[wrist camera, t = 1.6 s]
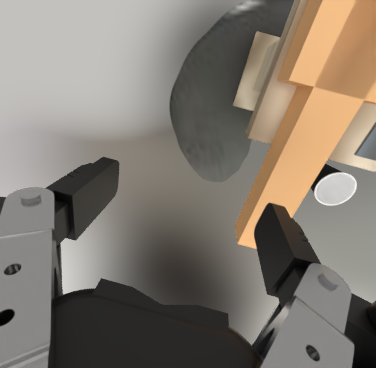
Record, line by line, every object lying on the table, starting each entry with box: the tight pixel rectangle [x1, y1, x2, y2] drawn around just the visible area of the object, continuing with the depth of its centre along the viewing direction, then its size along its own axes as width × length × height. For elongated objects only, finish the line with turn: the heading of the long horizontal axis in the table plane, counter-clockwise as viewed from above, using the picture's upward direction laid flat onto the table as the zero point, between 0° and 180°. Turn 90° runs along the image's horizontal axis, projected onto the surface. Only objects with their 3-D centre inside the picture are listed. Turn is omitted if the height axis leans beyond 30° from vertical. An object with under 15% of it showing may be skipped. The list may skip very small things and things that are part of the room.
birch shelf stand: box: [233, 0, 376, 172], centre depth 29 cm, size 16×14×32 cm
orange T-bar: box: [235, 0, 376, 249], centre depth 16 cm, size 7×22×3 cm, turn 167°
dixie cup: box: [311, 164, 357, 205], centre depth 46 cm, size 8×8×11 cm
